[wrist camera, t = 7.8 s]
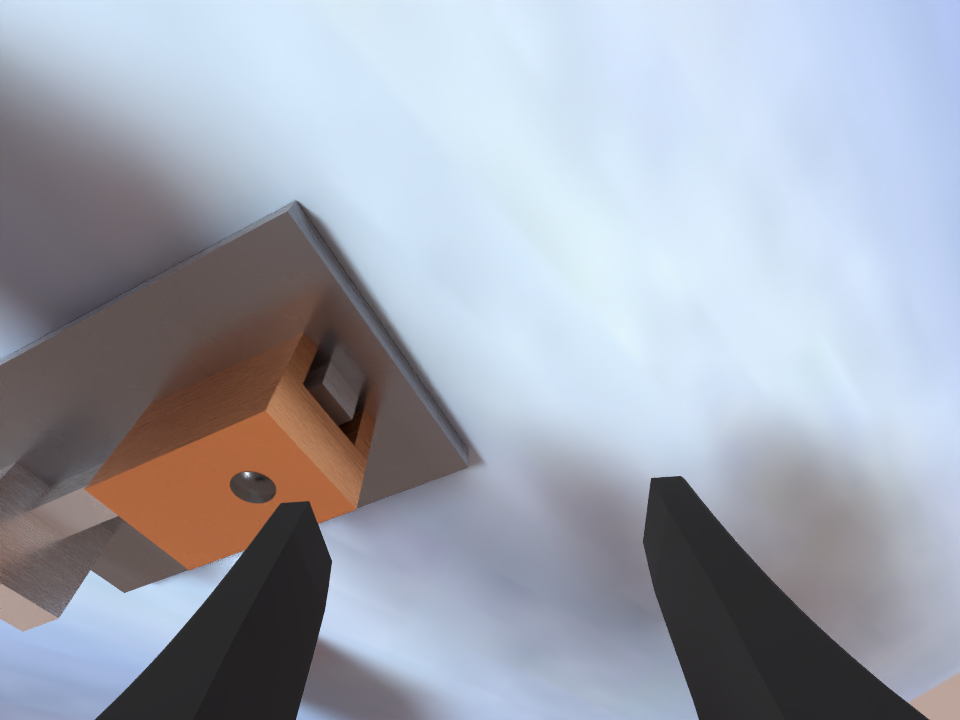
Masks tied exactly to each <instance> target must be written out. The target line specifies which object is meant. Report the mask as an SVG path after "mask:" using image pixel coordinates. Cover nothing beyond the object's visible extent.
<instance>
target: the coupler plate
mask: <svg viewBox="0 0 960 720" xmlns="http://www.w3.org/2000/svg"><path fill="white" fill-rule="evenodd" d="M302 333H304V334H305V336H306V337H307V338H308V340H309V341H310V342H311V343H312V345H313V346H314V347H315V348H316V350H317V352H316V354H315V356H314V359H313V361H312V363H311V366H310V368H309V370H308V373H307V375H306V377H305V380H304V382H303V385H304V387H305V388H306V389H307V390H308V391H309V393H310V394H311V395H312V396H313V397H314V399H315V400H316V401H317V402H318V403H319V404H320V406H321V407H322V408H323V409H324V410H325V412H326V413H327V414H328V415H329V416H330V418H331V419H332V420H333V421H334V422H335V423H336V425H337V426H338V425H340V424H343V423H345V422H347V421H350V420H352V418H353V415H354V414H355V413H357V412H359V411H362V410H365V412H366V413H367V414H368V416H369V417H370V418H371V419H372V421H373V422H374V423H375V427H374V432H373V436H372V441H371V446H370V450H369V455H368V459H367V464H366V468H365V473H364V477H363V482H362V486H361V491H360V495H359V500H358V504H357V508H358V507H361V506H364V505H366V504H369V503H372V502H375V501H377V500H380V499H383V498H385V497H388V496H391V495H394V494H396V493H399V492H402V491H405V490H407V489H410V488H413V487H416V486H418V485H421V484H424V483H426V482H429V481H432V480H435V479H437V478H440V477H443V476H446V475H448V474H451V473H454V472H457V471H459V470H462V469H465V468H468V449H467V447H466V446H465V445H464V443H463V442H462V440H461V439H460V437H459V436H458V434H457V433H456V431H455V430H454V429H453V427H452V426H451V424H450V423H449V421H448V420H447V418H446V417H445V416H444V414H443V413H442V411H441V410H440V408H439V407H438V405H437V404H436V402H435V401H434V400H433V398H432V397H431V395H430V394H429V392H428V391H427V389H426V388H425V386H424V385H423V384H422V382H421V381H420V379H419V378H418V376H417V375H416V373H415V372H414V371H413V369H412V368H411V366H410V365H409V363H408V362H407V360H406V359H405V357H404V356H403V355H402V353H401V352H400V350H399V349H398V347H397V346H396V344H395V343H394V342H393V340H392V339H391V337H390V336H389V334H388V333H387V331H386V330H385V328H384V327H383V326H382V324H381V323H380V321H379V320H378V318H377V317H376V315H375V314H374V312H373V311H372V310H371V308H370V307H369V305H368V304H367V302H366V301H365V299H364V298H363V297H362V295H361V294H360V292H359V291H358V289H357V288H356V286H355V285H354V283H353V282H352V281H351V279H350V278H349V276H348V275H347V273H346V272H345V270H344V269H343V268H342V266H341V265H340V263H339V262H338V260H337V259H336V257H335V256H334V254H333V253H332V252H331V250H330V249H329V247H328V246H327V244H326V243H325V241H324V240H323V238H322V237H321V236H320V234H319V233H318V231H317V230H316V228H315V227H314V225H313V224H312V223H311V221H310V220H309V218H308V217H307V215H306V214H305V212H304V211H303V209H302V208H301V207H300V205H299V204H298V202H297V201H294V202H292V203H290V204H288V205H287V206H285V207H283V208H281V209H279V210H277V211H275V212H274V213H272V214H270V215H268V216H266V217H264V218H262V219H261V220H259V221H257V222H255V223H253V224H251V225H250V226H248V227H246V228H244V229H242V230H240V231H238V232H237V233H235V234H233V235H231V236H229V237H227V238H225V239H224V240H222V241H220V242H218V243H216V244H214V245H212V246H211V247H209V248H207V249H205V250H203V251H201V252H200V253H198V254H196V255H194V256H192V257H190V258H188V259H187V260H185V261H183V262H181V263H179V264H177V265H175V266H174V267H172V268H170V269H168V270H166V271H164V272H162V273H161V274H159V275H157V276H155V277H153V278H151V279H150V280H148V281H146V282H144V283H142V284H140V285H138V286H137V287H135V288H133V289H131V290H129V291H127V292H125V293H124V294H122V295H120V296H118V297H116V298H114V299H112V300H111V301H109V302H107V303H105V304H103V305H101V306H100V307H98V308H96V309H94V310H92V311H90V312H88V313H87V314H85V315H83V316H81V317H79V318H77V319H75V320H74V321H72V322H70V323H68V324H66V325H64V326H62V327H61V328H59V329H57V330H55V331H53V332H51V333H50V334H48V335H46V336H44V337H42V338H40V339H38V340H37V341H35V342H33V343H31V344H29V345H27V346H25V347H24V348H22V349H20V350H18V351H16V352H14V353H12V354H11V355H9V356H7V357H5V358H3V359H1V360H0V619H2V620H3V621H5V622H7V623H9V624H10V625H12V626H14V627H16V628H17V629H19V630H21V631H25V630H28V629H31V628H34V627H36V626H39V625H42V624H45V623H47V622H50V621H53V620H56V619H58V618H59V617H60V616H61V614H62V613H63V611H64V610H65V608H66V606H67V605H68V603H69V602H70V600H71V599H72V597H73V596H74V594H75V593H76V591H77V590H78V588H79V587H80V585H81V584H82V582H83V580H84V579H85V577H86V576H87V574H88V573H89V571H90V570H92V571H93V572H95V573H96V574H97V575H99V576H100V577H102V578H103V579H105V580H106V581H108V582H109V583H111V584H112V585H114V586H115V587H116V588H118V589H119V590H121V591H122V592H124V593H126V592H128V591H131V590H134V589H137V588H139V587H142V586H145V585H148V584H150V583H153V582H156V581H158V580H161V579H164V578H167V577H169V576H172V575H175V574H178V573H180V572H183V571H186V570H188V569H187V568H185V567H184V566H183V565H182V564H180V563H179V562H178V561H176V560H175V559H174V558H172V557H171V556H170V555H169V554H167V553H166V552H165V551H163V550H162V549H161V548H159V547H158V546H157V545H156V544H154V543H153V542H152V541H150V540H149V539H148V538H147V537H145V536H144V535H143V534H141V533H140V532H139V531H137V530H136V529H135V528H134V527H132V526H131V525H130V524H128V523H127V522H126V521H124V520H123V519H122V518H121V517H119V516H118V515H117V514H115V513H114V512H113V511H112V510H110V509H109V508H108V507H106V506H105V505H104V504H102V503H101V502H100V501H99V500H97V499H96V498H95V497H93V496H92V495H91V494H89V493H88V492H87V491H86V490H84V489H85V488H86V487H87V485H88V484H89V483H90V481H91V480H92V479H93V477H94V476H95V475H96V474H97V472H98V471H99V470H100V468H101V467H102V466H103V464H104V463H105V462H106V461H107V459H108V458H109V457H110V455H111V454H112V453H113V451H114V450H115V449H116V448H117V446H118V445H119V444H120V442H121V441H122V440H123V438H124V437H125V436H126V435H127V433H128V432H129V431H130V429H131V428H132V427H133V426H134V424H135V423H136V422H137V420H138V419H139V418H140V416H141V415H142V414H143V413H144V411H145V410H146V409H147V407H148V406H149V405H150V404H152V403H154V402H156V401H159V400H161V399H163V398H165V397H167V396H169V395H171V394H173V393H176V392H178V391H180V390H182V389H184V388H186V387H188V386H191V385H193V384H195V383H197V382H199V381H201V380H203V379H206V378H208V377H210V376H212V375H214V374H216V373H218V372H221V371H223V370H225V369H227V368H229V367H231V366H233V365H236V364H238V363H240V362H242V361H244V360H246V359H248V358H251V357H253V356H255V355H257V354H259V353H261V352H263V351H266V350H268V349H270V348H272V347H274V346H276V345H278V344H281V343H283V342H285V341H287V340H289V339H291V338H293V337H296V336H298V335H300V334H302Z"/></svg>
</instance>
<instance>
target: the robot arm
mask: <svg viewBox="0 0 960 720" xmlns="http://www.w3.org/2000/svg"><path fill="white" fill-rule="evenodd" d="M643 544H644V548H645V553H646V557H647V561H648V566H649V570H650V574H651V578H652V583H653V587H654V591H655V594H656V596H657V599H658V602H659V605H660V608H661V611H662V614H663V617H664V620H665V622H666V625H667V628H668V631H669V634H670V637H671V639H672V642H673V645H674V648H675V651H676V654H677V656H678V659H679V662H680V665H681V668H682V670H683V673H684V676H685V679H686V682H687V685H688V687H689V690H690V693H691V696H692V699H693V702H694V705H695V708H696V711H697V715H698V718H699V720H929V719H928V718H926V717H925V716H924V715H923V714H921V713H920V712H919V711H918V710H916V709H915V708H914V707H912V706H911V705H910V704H909V703H907V702H906V701H905V700H903V699H902V698H901V697H900V696H898V695H897V694H896V693H895V692H893V691H892V690H891V689H889V688H888V687H887V686H886V685H885V684H883V683H882V682H881V681H880V680H879V679H877V678H876V677H875V676H874V675H873V674H872V673H870V672H869V671H868V670H867V669H866V668H865V667H863V666H862V665H861V664H860V663H859V662H857V661H856V660H855V659H854V658H853V657H852V656H850V655H849V654H848V653H847V652H846V651H845V650H844V649H843V648H842V647H840V646H839V645H838V644H837V643H836V642H835V641H834V640H833V639H831V638H830V637H829V636H828V635H827V634H826V633H825V632H824V631H823V630H822V629H821V628H820V627H818V626H817V625H816V624H815V623H814V622H813V621H812V620H811V619H810V618H809V617H808V616H807V615H806V614H805V613H804V612H803V611H802V610H801V609H800V608H799V607H798V606H797V605H796V604H795V603H794V602H793V601H792V600H791V599H790V598H789V597H788V596H787V595H786V594H785V593H784V592H783V591H782V590H781V589H780V588H779V587H778V586H777V585H776V584H775V583H774V582H773V581H772V580H771V579H770V578H769V577H768V576H767V575H766V574H765V573H764V572H763V571H762V569H761V568H760V567H759V566H758V565H757V564H756V563H755V562H754V561H753V560H752V558H751V557H750V556H749V555H748V554H747V553H746V552H745V551H744V550H743V549H742V547H741V546H740V545H739V544H738V543H737V542H736V541H735V540H734V538H733V537H732V536H731V535H730V534H729V533H728V532H727V530H726V529H725V528H724V527H723V526H722V524H721V523H720V522H719V521H718V520H717V519H716V517H715V516H714V515H713V514H712V513H711V511H710V510H709V509H708V508H707V506H706V505H705V504H704V503H703V502H702V500H701V499H700V498H699V497H698V495H697V494H696V493H695V491H694V490H693V489H692V488H691V486H690V485H689V484H688V483H687V481H686V480H685V479H684V478H683V477H681V476H675V477H660V478H651V483H650V491H649V499H648V507H647V515H646V523H645V530H644V538H643ZM331 565H332V560H331V557H330V555H329V552H328V549H327V547H326V544H325V541H324V539H323V536H322V533H321V531H320V528H319V525H318V523H317V520H316V518H315V515H314V512H313V510H312V507H311V504H310V502H309V501H302V502H287V503H281V504H280V505H279V506H278V507H277V508H276V510H275V511H274V512H273V514H272V515H271V516H270V518H269V519H268V520H267V522H266V523H265V524H264V526H263V527H262V528H261V530H260V531H259V532H258V534H257V535H256V536H255V538H254V539H253V540H252V542H251V543H250V544H249V546H248V547H247V548H246V550H245V551H244V552H243V554H242V555H241V556H240V558H239V559H238V560H237V562H236V563H235V564H234V566H233V567H232V568H231V569H230V571H229V572H228V573H227V574H226V576H225V577H224V578H223V579H222V581H221V582H220V583H219V585H218V586H217V587H216V588H215V590H214V591H213V592H212V593H211V595H210V596H209V597H208V598H207V600H206V601H205V602H204V603H203V604H202V606H201V607H200V608H199V609H198V610H197V612H196V613H195V614H194V615H193V616H192V617H191V619H190V620H189V621H188V622H187V623H186V624H185V626H184V627H183V628H182V629H181V630H180V631H179V633H178V634H177V635H176V636H175V637H174V638H173V640H172V641H171V642H170V643H169V644H168V645H167V646H166V647H165V649H164V650H163V651H162V652H161V653H160V654H159V655H158V656H157V657H156V658H155V659H154V661H153V662H152V663H151V664H150V665H149V666H148V667H147V668H146V669H145V670H144V671H143V672H142V673H141V674H140V675H139V676H138V677H137V678H136V679H135V681H134V682H133V683H132V684H131V685H130V686H129V687H128V688H127V689H126V690H125V691H124V692H123V693H122V694H121V695H120V696H119V697H118V698H117V699H116V700H115V701H114V702H113V703H112V704H111V705H110V706H109V707H107V708H106V709H105V710H104V711H103V712H102V713H101V714H100V715H99V716H98V717H97V718H96V719H95V720H296V717H297V713H298V710H299V706H300V702H301V698H302V695H303V691H304V687H305V683H306V680H307V676H308V672H309V669H310V665H311V661H312V657H313V654H314V650H315V646H316V642H317V639H318V635H319V631H320V627H321V623H322V619H323V615H324V612H325V606H326V600H327V594H328V587H329V580H330V572H331Z"/></svg>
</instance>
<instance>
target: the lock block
mask: <svg viewBox="0 0 960 720" xmlns="http://www.w3.org/2000/svg"><path fill="white" fill-rule="evenodd" d="M316 352H317V350H316V348H315V347H314V346H313V345H312V343H311V342H310V341H309V340H308V338H307V337H306V336H305V334H304V333H302V334H300V335H298V336H296V337H293V338H291V339H289V340H287V341H285V342H283V343H281V344H278V345H276V346H274V347H272V348H270V349H268V350H266V351H263V352H261V353H259V354H257V355H255V356H253V357H251V358H248V359H246V360H244V361H242V362H240V363H238V364H236V365H233V366H231V367H229V368H227V369H225V370H223V371H221V372H218V373H216V374H214V375H212V376H210V377H208V378H206V379H203V380H201V381H199V382H197V383H195V384H193V385H191V386H188V387H186V388H184V389H182V390H180V391H178V392H176V393H173V394H171V395H169V396H167V397H165V398H163V399H161V400H159V401H156V402H154V403H152V404H150V405H149V406H148V407H147V409H146V410H145V411H144V413H143V414H142V415H141V416H140V418H139V419H138V420H137V422H136V423H135V424H134V426H133V427H132V428H131V429H130V431H129V432H128V433H127V435H126V436H125V437H124V438H123V440H122V441H121V442H120V444H119V445H118V446H117V448H116V449H115V450H114V451H113V453H112V454H111V455H110V457H109V458H108V459H107V461H106V462H105V463H104V464H103V466H102V467H101V468H100V470H99V471H98V472H97V474H96V475H95V476H94V477H93V479H92V480H91V481H90V483H89V484H88V485H87V487H86V488H85V489H84V490H86V491H87V492H88V493H89V494H91V495H92V496H93V497H95V498H96V499H97V500H99V501H100V502H101V503H102V504H104V505H105V506H106V507H108V508H109V509H110V510H112V511H113V512H114V513H115V514H117V515H118V516H119V517H121V518H122V519H123V520H124V521H126V522H127V523H128V524H130V525H131V526H132V527H134V528H135V529H136V530H137V531H139V532H140V533H141V534H143V535H144V536H145V537H147V538H148V539H149V540H150V541H152V542H153V543H154V544H156V545H157V546H158V547H159V548H161V549H162V550H163V551H165V552H166V553H167V554H169V555H170V556H171V557H172V558H174V559H175V560H176V561H178V562H179V563H180V564H182V565H183V566H184V567H185V568H187V569H188V570H191V569H194V568H197V567H200V566H202V565H205V564H208V563H211V562H213V561H216V560H219V559H222V558H224V557H227V556H230V555H233V554H235V553H238V552H241V551H244V550H246V548H247V547H248V546H249V544H250V543H251V542H252V540H253V539H254V538H255V536H256V535H257V534H258V532H259V531H260V530H261V528H262V527H263V526H264V524H265V523H266V522H267V520H268V519H269V518H270V516H271V515H272V514H273V512H274V511H275V510H276V508H277V507H278V506H279V505H280V504H281V503H287V502H302V501H309V502H310V504H311V507H312V510H313V512H314V515H315V518H316V520H317V523H321V522H323V521H326V520H329V519H332V518H334V517H337V516H340V515H343V514H345V513H348V512H351V511H354V510H356V509H357V504H358V500H359V495H360V491H361V486H362V482H363V477H364V473H365V468H366V464H367V459H368V455H369V450H370V446H371V441H372V436H373V432H374V427H375V423H374V422H373V421H372V419H371V418H370V417H369V416H368V414H367V413H366V412H365V410H362V411H359V412H357V413H355V414H354V415H353V418H352V420H350V421H347V422H345V423H343V424H340V425H338V426H337V425H336V423H335V422H334V421H333V420H332V419H331V418H330V416H329V415H328V414H327V413H326V412H325V410H324V409H323V408H322V407H321V406H320V404H319V403H318V402H317V401H316V400H315V399H314V397H313V396H312V395H311V394H310V393H309V391H308V390H307V389H306V388H305V387H304V385H303V382H304V380H305V377H306V375H307V373H308V370H309V368H310V366H311V363H312V361H313V359H314V356H315V354H316Z"/></svg>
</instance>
